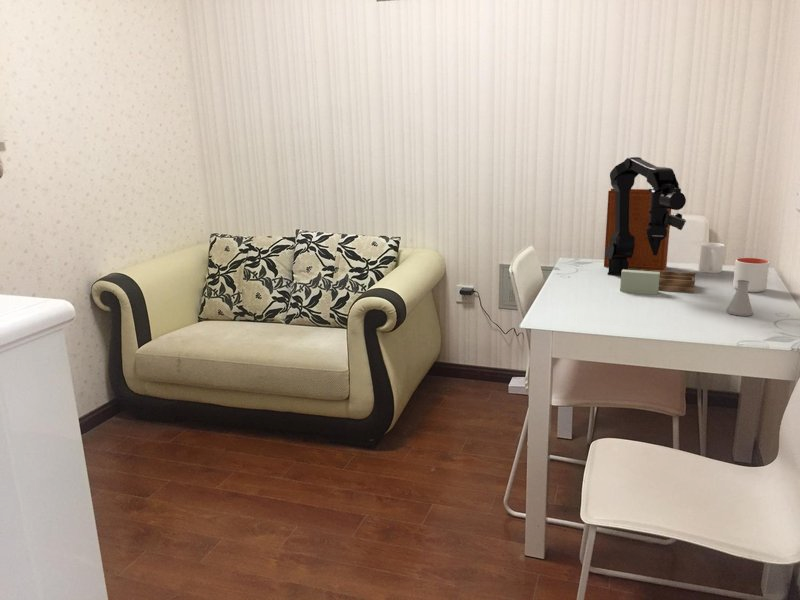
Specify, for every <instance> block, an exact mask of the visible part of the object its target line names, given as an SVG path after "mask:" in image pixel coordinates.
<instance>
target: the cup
mask: <svg viewBox="0 0 800 600" xmlns="http://www.w3.org/2000/svg"><path fill="white" fill-rule="evenodd" d="M769 267H770V261H769V260H766V259H764V258H763V259H762V258H756V257H755V258H754V257H739V258H736V259H735V264H734V274H733V281H732V282H733V283H732V285H733V288H734V289H735V290H737V288H738V282H737V280H748V281H749V284H748V293H761V292H764V291H766V289H767V284H768V283H767V282H768V277H769V276H768V275H769V270H770V269H769Z"/></svg>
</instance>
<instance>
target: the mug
mask: <svg viewBox="0 0 800 600" xmlns="http://www.w3.org/2000/svg"><path fill="white" fill-rule="evenodd" d="M699 247H700V248H699V258H698V271H699V272H700V273H705V274H720V273H721V272H722V271H723V264H724V257H725V256H724V255H725V247H726V245H725V244H724V243H720V242H719V243H718V242H702V243H700V246H699Z"/></svg>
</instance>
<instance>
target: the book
mask: <svg viewBox="0 0 800 600" xmlns="http://www.w3.org/2000/svg"><path fill="white" fill-rule="evenodd" d="M649 189H650V188H648V189H647V188H644V189H643V188H631V190H630V194H629V232H630V233H631V235H632V236H634V237H635V240H634V244H635V248H634V252H633V255H632V258H627V261H628V262H629V267H628V270H641V269H645V270H660V271H667V265H668V255H669V254H668V252H669V242H670V241H669V239H670V229H671V226H670V225H668V229H667V236H666V238H664V239H663V240H662V241H661V243H660V247H659V250H658V254H657V255H653V252H652V249H651V246H650V243H649V241H648V238H647V228H648V225H649V215H650V213H649V212H650V202H651V192H648V190H649ZM607 195H608V196H607V208H606V209H607V210H606V211H607V213H606V223H605V224H606V227H605V240H604V241H605V243H604V252H605V251H606V249H607V248H608V246H609V245H610V240H611V237H612V235H613V234H614V232H615V190H614V189H613V188H610V190H608V193H607ZM668 210H669V214H671V215H672V209H668ZM603 268H609V258H606V257H605V255H604V257H603Z"/></svg>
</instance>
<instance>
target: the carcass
mask: <svg viewBox="0 0 800 600" xmlns="http://www.w3.org/2000/svg"><path fill="white" fill-rule="evenodd" d="M640 271H653V272H660V277H659V289H658V291H664V292H665V291H667V292H678V293H679V292H680V293H691V294H695V285H696V274H697V273H696V272H688V271H674V270H664V271H660V270H645V269H640Z"/></svg>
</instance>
